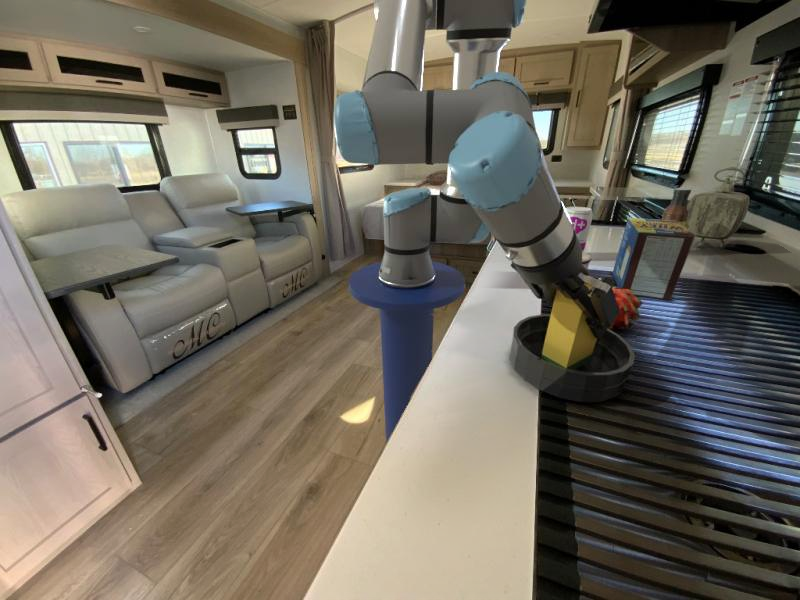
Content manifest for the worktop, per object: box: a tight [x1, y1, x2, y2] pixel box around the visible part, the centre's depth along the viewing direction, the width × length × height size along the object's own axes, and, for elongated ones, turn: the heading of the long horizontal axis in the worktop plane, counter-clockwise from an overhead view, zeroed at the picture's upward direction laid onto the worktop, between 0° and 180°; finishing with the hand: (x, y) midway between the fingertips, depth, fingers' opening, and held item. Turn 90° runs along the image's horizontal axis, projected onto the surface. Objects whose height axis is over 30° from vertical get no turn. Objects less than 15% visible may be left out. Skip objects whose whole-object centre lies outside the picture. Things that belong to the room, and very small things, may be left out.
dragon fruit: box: [608, 286, 643, 331], centre depth 66 cm, size 8×8×12 cm
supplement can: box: [565, 206, 594, 252], centre depth 102 cm, size 8×8×15 cm
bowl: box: [509, 313, 636, 403], centre depth 54 cm, size 17×17×6 cm
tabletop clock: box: [685, 167, 751, 249], centre depth 108 cm, size 14×9×25 cm, turn 40°
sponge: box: [541, 290, 597, 370], centre depth 52 cm, size 4×7×13 cm, turn 122°
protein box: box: [612, 217, 696, 301], centre depth 81 cm, size 10×15×16 cm
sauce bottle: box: [660, 187, 692, 227], centre depth 104 cm, size 6×6×20 cm
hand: (586, 324), depth 54 cm, fingers closed on sponge, 4 cm apart
